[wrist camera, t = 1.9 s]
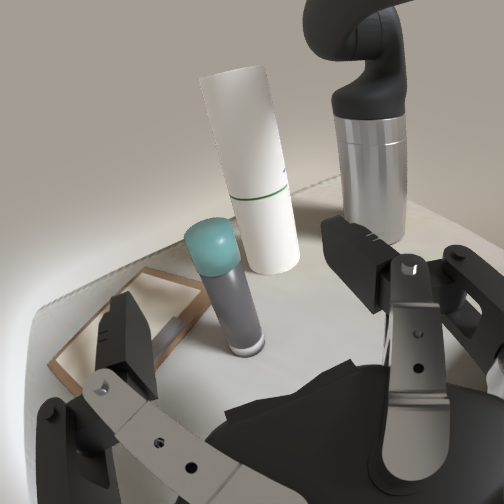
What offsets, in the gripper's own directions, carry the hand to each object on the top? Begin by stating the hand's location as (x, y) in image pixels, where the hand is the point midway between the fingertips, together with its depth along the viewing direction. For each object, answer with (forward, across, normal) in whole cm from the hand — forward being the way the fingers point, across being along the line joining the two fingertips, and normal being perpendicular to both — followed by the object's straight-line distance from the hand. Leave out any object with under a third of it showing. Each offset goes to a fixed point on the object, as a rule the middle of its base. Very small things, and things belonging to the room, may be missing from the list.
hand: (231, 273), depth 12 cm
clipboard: (+19, +14, +18) cm, 30 cm away
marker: (+12, 0, +18) cm, 21 cm away
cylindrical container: (+24, -8, +18) cm, 31 cm away
